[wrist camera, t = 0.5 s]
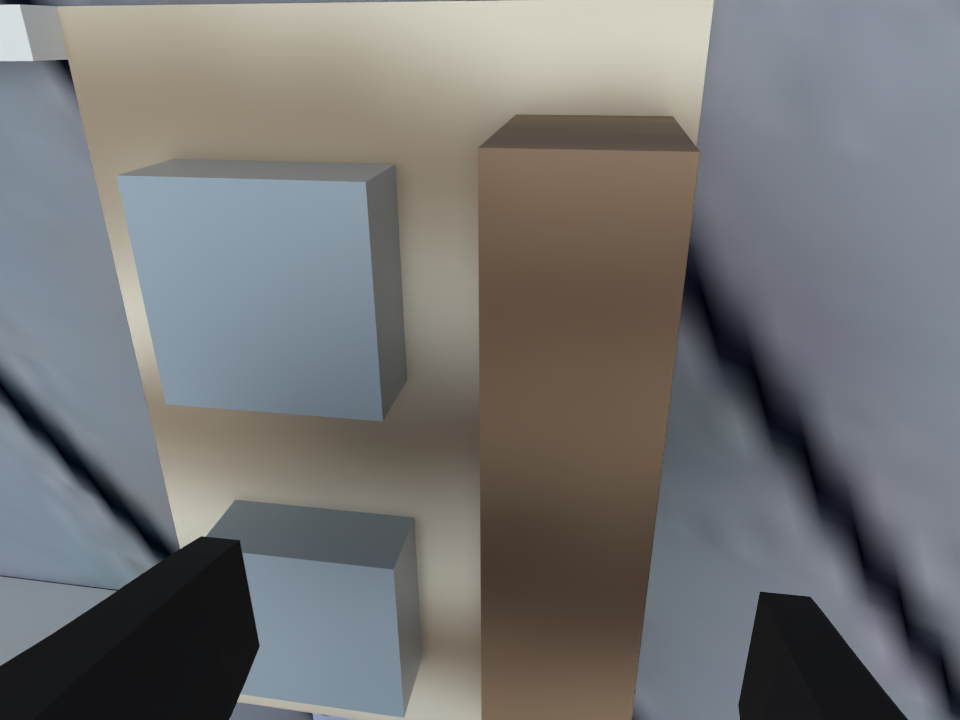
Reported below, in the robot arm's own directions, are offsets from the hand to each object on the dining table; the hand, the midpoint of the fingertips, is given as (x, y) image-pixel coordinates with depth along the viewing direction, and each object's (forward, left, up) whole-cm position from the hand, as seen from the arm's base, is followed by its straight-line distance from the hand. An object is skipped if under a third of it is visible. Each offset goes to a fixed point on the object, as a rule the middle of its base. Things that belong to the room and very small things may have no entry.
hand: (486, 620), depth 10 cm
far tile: (-6, +5, -7) cm, 11 cm away
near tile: (+3, +5, -7) cm, 9 cm away
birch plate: (-2, +3, -10) cm, 11 cm away
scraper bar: (-2, -1, -7) cm, 8 cm away
